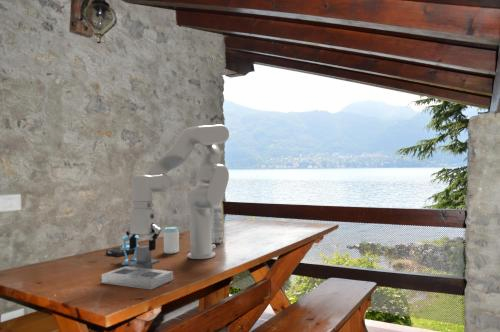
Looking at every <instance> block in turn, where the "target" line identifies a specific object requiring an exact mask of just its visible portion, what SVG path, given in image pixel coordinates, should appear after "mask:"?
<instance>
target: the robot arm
mask: <svg viewBox="0 0 500 332" xmlns="http://www.w3.org/2000/svg"><path fill="white" fill-rule="evenodd" d="M229 137H230V131H229V129H228V128H227V127H226V126H225V125H224V124H213V125H212V124H210V125H196V126H191V127H186V128H184V129H183V130H182V131H181V132H180V133H179V135H178V136H177V138H176V140H175V141H174V142H173V144H172V145H171V146H170V147H169V150H168V151H167V152H165V153H164V154H162V156H161V157H159V158H158V159H157V160H156V161H154V162H153V164H151V166H150V167H149V168H148V170H147V172H146V173H145V174H135V175H134V176H133V177H132V209H130V210H131V212H130V216H129V224H128V225H126V226H125V227H124V231H125V234H126V236H128V238H129V240H128V243H129V244H128V245H129V248H130V249H133V248H136V238H135V236H136V235H138V236H148V238H149V240H148V246H149V251H151V252H152V251H155V250H156V247H157V246H156V243H157V242H156V241H157V239H158V238H159V236H160V233H161V231H162V229H161V228H160V227H159V226H157V220H156V218H157V217H156V213H155V209H154V208H153V207H155V204H154V203H153V193H160V194H161V193H166V192H168V191H169V192H170V190H171V189H172V187H173V180H172V179H173V178H171V176H169V175H167V174H168V172H170V171H172V170H174V169H176V168H178V167H180V166H181V165H184V164H185V162H187V160H188V159H189V157H190V155H191V154H192V152H193V150H194V149H195V148H196V147H198V146H200V147H201V148H202V152H203V153H202V157H201V161H200V164H199V167H198V171H197V174H196V180H197V181H198V183H199V184H201V185H204V186H194V187H192V188H191V189H190V190H189V191H188V192H187V197H186V200H187V204H188V209H189V236H190V237H189V238H190V252H189V253H187V255H186V256H187V258H188V259H192V260H206V259H211V258H215V256H216V252H214V251H213V249H216V247H217V246H216V243H212V236H211V214H210V211H209V208H217V207H219V206H220V204H221V203H223V201H224V197H225V195H226V190H227V187H228V183H229V178H230V174H229V169H228V168H227V166H225V165H224V164H221V159H222V153H221V149H220V148H219V145H220V144H224V143H226V142H227V140H228V139H229ZM218 144H219V145H218Z"/></svg>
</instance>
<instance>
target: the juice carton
mask: <svg viewBox="0 0 500 332" xmlns="http://www.w3.org/2000/svg"><path fill="white" fill-rule="evenodd" d="M209 211H210V214H211V236H212V244H221V243H223V241H224V235H225V231H224V230H225V229H224V227H225V226H224V220H225V219H224V204H223V202H222V203H221V204H220V206H219V207H217V208H209Z"/></svg>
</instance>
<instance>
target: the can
mask: <svg viewBox="0 0 500 332" xmlns="http://www.w3.org/2000/svg"><path fill="white" fill-rule="evenodd" d="M162 234H163V253H164V254H166V255H174V253H175V254H178V253H179V252H180V239H179V238H180V237H179V234H180V233H179V229H178V227H177V226H167V227H165V228H164V230H163V233H162Z"/></svg>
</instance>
